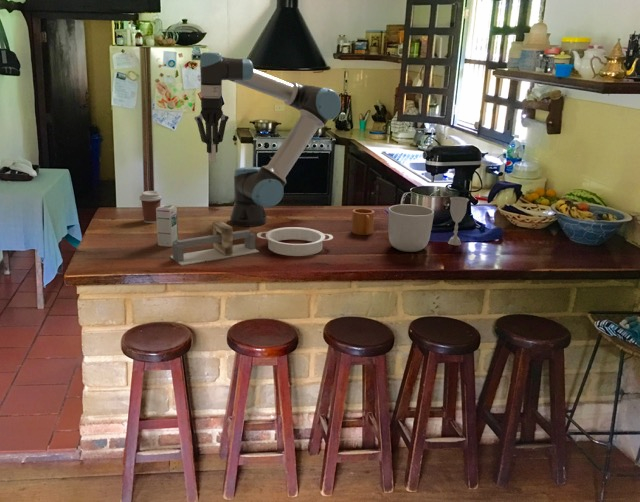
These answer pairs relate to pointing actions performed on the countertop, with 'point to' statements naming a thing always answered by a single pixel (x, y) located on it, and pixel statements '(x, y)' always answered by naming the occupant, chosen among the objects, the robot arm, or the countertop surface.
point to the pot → (295, 233)
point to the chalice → (457, 215)
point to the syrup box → (167, 225)
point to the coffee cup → (150, 205)
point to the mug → (362, 221)
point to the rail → (212, 253)
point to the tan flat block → (223, 237)
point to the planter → (409, 226)
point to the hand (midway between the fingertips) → (212, 161)
